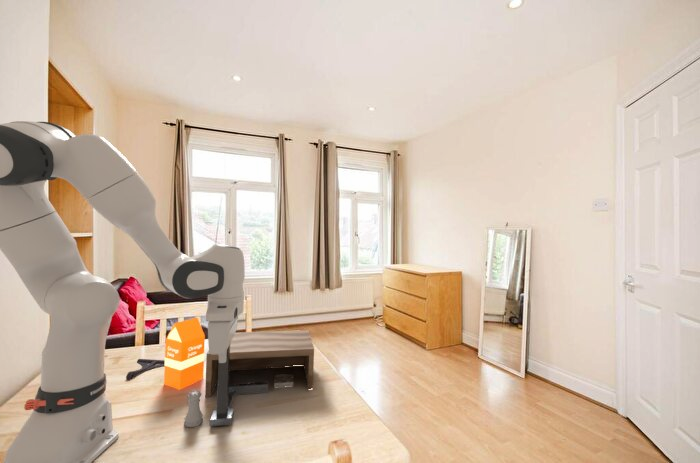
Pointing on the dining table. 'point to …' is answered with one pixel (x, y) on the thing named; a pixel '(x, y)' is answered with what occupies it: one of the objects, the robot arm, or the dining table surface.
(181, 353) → the orange juice
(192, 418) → the rook chess piece
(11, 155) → the robot arm
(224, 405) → the hook tool
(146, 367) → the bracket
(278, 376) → the block
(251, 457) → the dining table surface
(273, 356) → the low cabinet
